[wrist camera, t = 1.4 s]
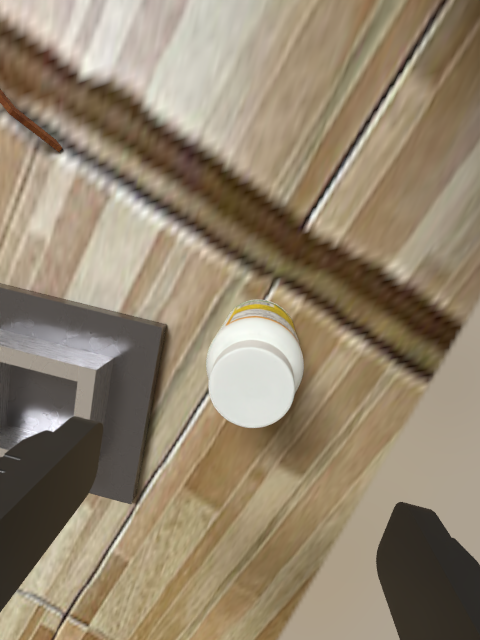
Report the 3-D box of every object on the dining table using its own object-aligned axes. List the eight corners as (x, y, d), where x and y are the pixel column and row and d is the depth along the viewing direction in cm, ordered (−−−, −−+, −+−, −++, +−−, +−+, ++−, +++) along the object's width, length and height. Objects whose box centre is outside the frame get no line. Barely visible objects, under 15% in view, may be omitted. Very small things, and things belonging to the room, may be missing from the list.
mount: (-30, 276, 25) (-78, 280, 21) (166, 324, 24) (149, 336, 21) (-34, 449, 28) (-76, 476, 25) (135, 495, 28) (117, 529, 24)
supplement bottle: (258, 283, 23) (251, 306, 13) (310, 334, 23) (337, 390, 14) (208, 333, 24) (170, 387, 15) (258, 381, 24) (252, 462, 15)
